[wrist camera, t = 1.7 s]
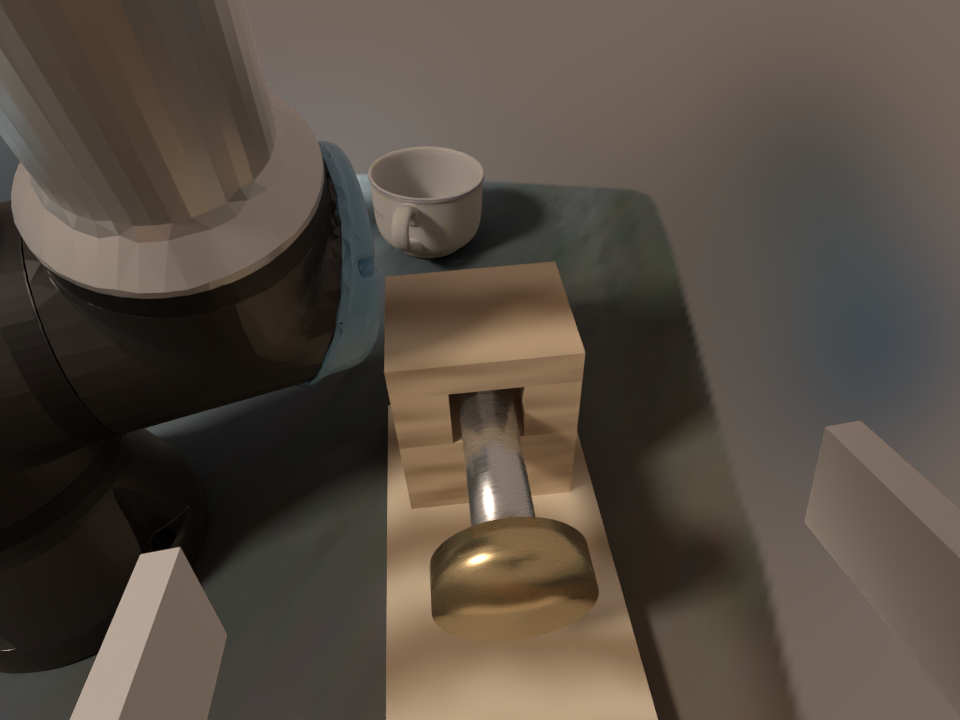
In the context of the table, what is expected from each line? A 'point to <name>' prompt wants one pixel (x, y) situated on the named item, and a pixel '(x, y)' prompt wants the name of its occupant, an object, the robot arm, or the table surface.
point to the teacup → (427, 199)
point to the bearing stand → (445, 506)
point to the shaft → (506, 542)
